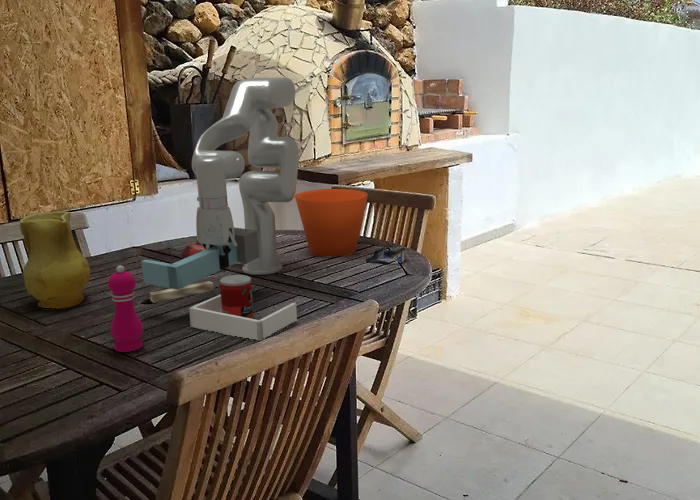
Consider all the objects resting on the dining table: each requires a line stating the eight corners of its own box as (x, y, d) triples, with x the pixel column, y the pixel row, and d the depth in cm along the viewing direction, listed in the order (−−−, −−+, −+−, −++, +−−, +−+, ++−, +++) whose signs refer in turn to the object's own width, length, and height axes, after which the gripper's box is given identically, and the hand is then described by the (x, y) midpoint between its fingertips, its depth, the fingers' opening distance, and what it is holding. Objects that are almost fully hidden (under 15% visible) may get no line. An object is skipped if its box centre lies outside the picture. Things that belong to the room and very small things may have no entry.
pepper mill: (116, 342, 167) (107, 261, 162) (147, 341, 167) (139, 260, 162) (109, 354, 160) (99, 270, 155) (141, 353, 160) (132, 269, 155)
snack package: (380, 270, 223) (410, 263, 228) (377, 250, 222) (408, 243, 228) (361, 267, 233) (390, 261, 239) (358, 248, 233) (388, 242, 238)
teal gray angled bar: (218, 250, 209) (216, 224, 206) (259, 257, 201) (257, 230, 199) (144, 282, 184) (140, 253, 182) (187, 291, 177) (183, 261, 174)
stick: (210, 289, 207) (209, 281, 206) (214, 291, 205) (213, 283, 204) (150, 301, 197) (149, 292, 196) (153, 304, 195) (152, 295, 194)
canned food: (247, 326, 176) (245, 284, 173) (217, 324, 177) (214, 282, 175) (257, 315, 183) (255, 275, 180) (228, 314, 185) (226, 273, 182)
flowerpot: (346, 264, 229) (345, 204, 224) (283, 255, 241) (280, 198, 235) (381, 246, 250) (380, 191, 245) (321, 239, 262) (319, 186, 257)
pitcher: (30, 317, 185) (16, 224, 179) (25, 297, 201) (13, 212, 195) (98, 306, 193) (87, 217, 187) (88, 288, 209) (78, 205, 203)
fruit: (177, 271, 225) (174, 240, 222) (194, 263, 233) (192, 234, 231) (201, 273, 221) (199, 243, 219) (217, 265, 230) (215, 236, 227)
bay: (229, 308, 189) (227, 291, 187) (296, 322, 178) (296, 303, 177) (190, 326, 176) (189, 307, 175) (260, 342, 165) (259, 322, 164)
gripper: (180, 202, 189) (187, 267, 195) (228, 208, 181) (234, 275, 187) (199, 196, 195) (206, 259, 201) (246, 202, 187) (251, 267, 193)
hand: (219, 266), depth 194 cm, fingers closed on teal gray angled bar, 3 cm apart
